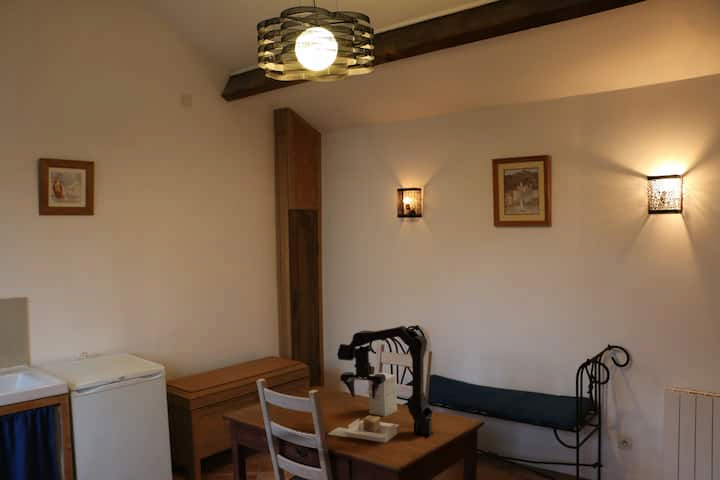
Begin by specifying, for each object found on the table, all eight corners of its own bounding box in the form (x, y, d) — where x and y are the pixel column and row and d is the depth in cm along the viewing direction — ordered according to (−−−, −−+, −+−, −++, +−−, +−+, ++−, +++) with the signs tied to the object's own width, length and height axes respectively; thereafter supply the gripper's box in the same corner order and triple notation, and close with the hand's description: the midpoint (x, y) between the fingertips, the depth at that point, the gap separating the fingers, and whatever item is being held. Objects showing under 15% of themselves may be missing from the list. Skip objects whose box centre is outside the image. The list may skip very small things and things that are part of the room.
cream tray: (399, 433, 246) (399, 421, 246) (382, 446, 232) (381, 433, 232) (362, 427, 255) (362, 415, 254) (343, 440, 240) (343, 427, 240)
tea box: (380, 434, 244) (380, 416, 244) (374, 438, 240) (374, 420, 240) (369, 432, 247) (368, 415, 247) (363, 436, 242) (362, 419, 242)
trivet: (357, 431, 250) (357, 430, 250) (346, 438, 242) (346, 437, 242) (338, 428, 254) (338, 427, 254) (327, 435, 246) (327, 433, 246)
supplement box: (381, 408, 281) (380, 372, 281) (397, 411, 276) (396, 374, 275) (368, 413, 274) (367, 376, 274) (385, 416, 268) (383, 379, 268)
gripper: (389, 358, 258) (391, 394, 258) (349, 356, 266) (351, 391, 266) (380, 363, 248) (381, 401, 248) (339, 361, 255) (340, 398, 256)
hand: (363, 398), depth 255 cm, fingers open, 9 cm apart
